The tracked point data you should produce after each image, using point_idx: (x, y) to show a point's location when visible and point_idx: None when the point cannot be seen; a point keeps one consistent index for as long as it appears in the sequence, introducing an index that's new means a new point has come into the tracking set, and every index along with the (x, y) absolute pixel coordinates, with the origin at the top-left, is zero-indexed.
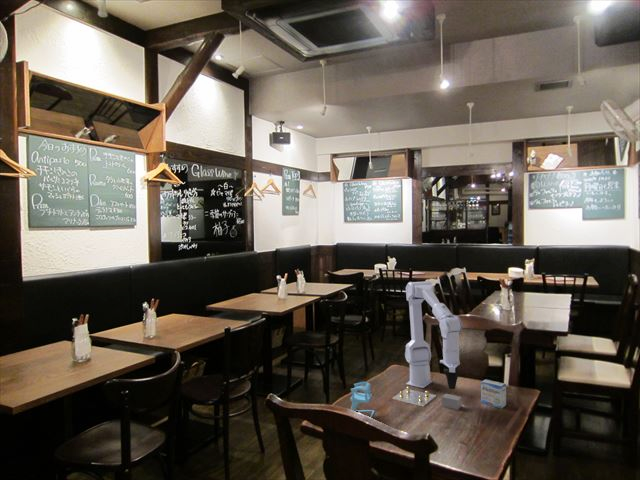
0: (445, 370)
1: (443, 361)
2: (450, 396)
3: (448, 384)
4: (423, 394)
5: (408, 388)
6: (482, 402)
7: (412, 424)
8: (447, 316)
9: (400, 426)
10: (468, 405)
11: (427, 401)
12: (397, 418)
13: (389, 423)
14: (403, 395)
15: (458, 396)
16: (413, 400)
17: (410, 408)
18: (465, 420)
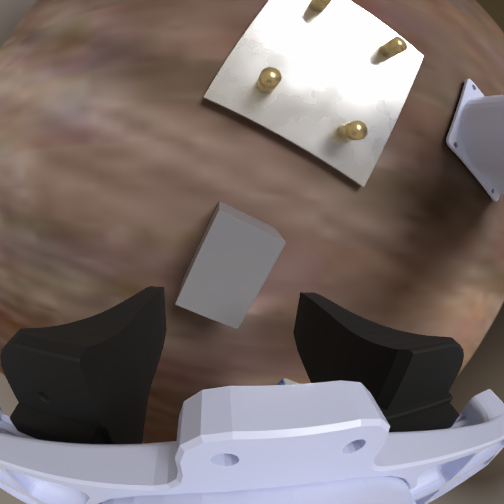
0: (14, 363)
1: (194, 491)
2: (234, 268)
3: (131, 298)
4: (368, 118)
5: (391, 43)
6: (281, 384)
7: (16, 77)
8: None
9: (9, 44)
10: (250, 333)
11: (265, 122)
12: (66, 12)
13: (33, 5)
14: (336, 17)
15: (242, 314)
16: (272, 49)
17: (172, 36)
18: (77, 295)
